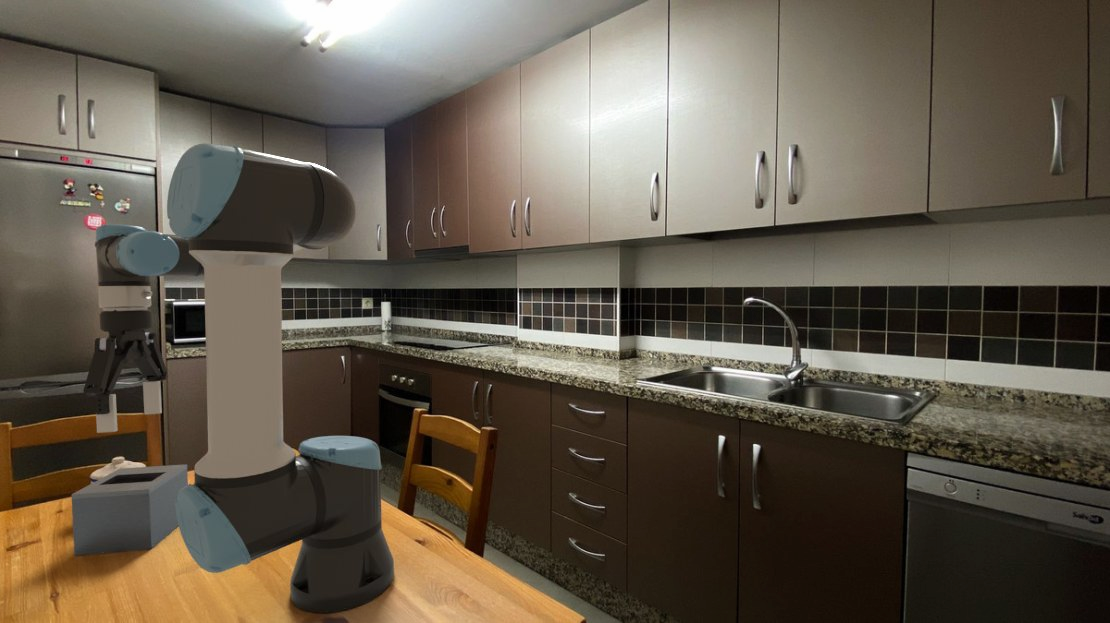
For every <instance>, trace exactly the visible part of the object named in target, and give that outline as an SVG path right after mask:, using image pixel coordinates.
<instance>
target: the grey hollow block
mask: <svg viewBox="0 0 1110 623" xmlns="http://www.w3.org/2000/svg"><path fill="white" fill-rule="evenodd" d="M188 477H189V476H188V464H171V465H154V466H153V465H152V466H146V467H136V468H120V469H118V470H116V471H114V472H113V473H111V474H109V475H107V476H105V477H103V478H101V479H99V480H98V481H96V482H94V483H92V484H91V483H90V484H88V485H86V486H84V487H83V488H81V489H79V490H77V491H75V492H73V493H72V494H71V512H72V515H71V516H72V531H73V532H72V534H73V535H72V536H73V551H74V553H73V554H74V557H77V556H88V555H98V554H99V555H100V554H110V553H121V552H123V553H124V552H134V551H145V550H152V549H154V548H155V547H156V546H157V545H159V543H160V542H162V541H163V540H164V539H165V538H166V537H168V536H169V535H170V534H171V533H172V532H173V531H175V530H176V529H177V528H179V525H178V521H177V516H176V509H175V501H176V498H177V493H178V491H179V490H180V489H182V488H184V487H185V486H186V485H188V484H189V479H188Z"/></svg>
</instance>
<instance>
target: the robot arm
mask: <svg viewBox="0 0 1110 623" xmlns="http://www.w3.org/2000/svg"><path fill="white" fill-rule="evenodd" d="M356 210H357V209H356V203H355V199H354V196H353V194H352V192H351V191H350V189H349V188H348V185H347V184H346V183H345V182H344V180H342V178H340V177H339V176H338V175H337V174H335V173H334V172H333V171H332V170H329V169H327V168H325V167H323V166H321V165H318V164H316V163H312V162H307V161H300V160H296V159H292V158H286V157H282V156H278V155H273V154H269V153H265V152H259V151H256V150H252V149H251V150H250V149H248V148H247V149H246V148H243V147H242V148H241V147H239V146H234V145H233V146H229V145H220V144H212V143H205V142H204V143H203V142H202V143H198V144H195V145H193V146H190V147H189V148H188V149H187V150H185V152H184V153H183V154H182V156H180V158H179V160H178V162H177V165H176V166H175V168H174V170H173V172H172V176H171V179H170V183H169V187H168V192H167V200H166V215H167V219H168V220H169V222H168V224H169V227H170V230H171V232H172V233H173V234H169V233H167V234H166V233H162V232H159V231H154V230H147V229H146V228H144V227H142V226H140V225H139V226H137V225H129V224H102V225H99V226H98V227H97V228H96V229H95V241H94V247H95V252H96V254H95V255H96V268H97V270H96V271H97V282H98V283H97V285H98V287H97V290H98V291H97V292H98V307H99V308H100V309H103V311H102V310H101V311H100V313H99V327H100V328H99V329H100V331H102V332H105V333H108V337H98V338H95V339H94V352H93V356H92V358H91V361H90V362H91V363H90V367H89V369H88V372H87V376H86V379H85V380H86V381H85V383H84V387H83V394H84V395H86V396H87V397H94V405H95V406H94V407H95V418H96V419H95V421H96V433H97V434H98V433H115V432H117V431H119V429H118V414H117V413H118V412H117V410H118V409H117V395H116V393H113V391H114V389H115V387H116V383H117V382H118V380H119V378H120V376H121V373H122V370H123V369H124V367H125V364H127V363H129V361H130V360H132V361H133V362H134V364H135V365H136V367H137V368H138V370H139V371H140V373H141V374H142V376H143V377H144V379H145V380H146V381H143V382H142V392H143V407H144V408H143V409H144V410H143V412H144V415H160V414H162V413H163V411H162V410H163V408H162V391H161V390H162V388H161V387H162V386H161V381H166V380H167V377H168V376H167V375H168V371H167V370H168V369H167V367H166V365H165V362H164V358H163V355H162V353H161V351H160V347H159V344H158V340H157V338H158V337H157V334H156V332H153V331H152V332H146V331H148V330H151V329H152V328H153V327H154V324H153V323H154V322H153V311H152V310H151V309H148V308H150V307H151V306H152V296H153V291H151V289H152V288H151V287H152V286H151V277H204V280H203V282H204V315H205V316H204V317H205V319H204V320H205V321H204V322H205V326H204V327H205V328H204V329H205V357H206V358H205V361H206V362H205V363H206V404H207V405H206V408H207V411H206V412H207V449H208V450H207V452H206V454H205V455H203V456H202V458H200V460H198V461H197V462H196V463H195V465H194V483H193V484H192V483H190V484H189V483H188V485H186V486H185V487H184V488H182V489H180V490H179V491H178V493H177V498H176V501H175V509H176V516H177V521H178V525H179V526H178V528H179V531H180V535H181V537H182V539H183V542H184V545H185V547H186V549H187V551H188V553H189V554H190V557H192V559H193V561H194V562H195V563H196V564H197V565H198V566H199V567H200V568H201V569H203V570H204V571H206V572H207V573H212V574H218V573H219V574H220V573H222V572H225V571H228V570H230V569H235V567H239V566H241V565H243V566H247V565H248V564H250V563H251V562H252V561H254V560H255V561H256V560H257V559H260V558H262V557H264V556H266V555H269V554H271V553H273V552H275V551H279V550H281V549H283V548H286V547H287V546H290V545H292V544H295V543H297V542H299V541H301V546H300V548H299V553H298V554H297V558H296V561H295V564H294V568H293V570H292V571H293V572H292V574H291V578H290V585H289V586H290V589H289V590H290V601H291V602H292V604H293V605H294V606H295V607H297V608H299V609H300V610H303V611H305V612H311V613H321V614H322V613H324V614H325V613H334V612H335V613H336V612H341V611H346V610H349V609H353V608H357V607H359V606H362V605H363V604H367V603H368V602H370V601H372V600H374V599H376V598H377V597H378V596H380V595H381V594H383V593H384V592H385V591H386V590H387V589H388V588H389V587H390V585H391V583H392V582H393V580H394V576H395V564H394V557H393V555H392V552H391V549H390V547H389V544H388V542H387V539H386V537H385V534H384V531H383V528H382V527H383V525H382V486H381V485H382V484H381V483H382V481H381V480H382V478H381V477H382V476H381V475H382V474H381V470H382V468H383V466H382V462H381V454H380V452H381V451H380V448H379V445H378V444H377V443H376V442H375V441H373V440H371V439H369V438H365V437H361V436H351V435H327V436H326V435H325V436H317V437H312V438H309V439H305V440H302V442H300V444H299V447H298V449H297V452H298V455H296V451H295V449H294V448H292V447H291V446H290V445H289V444H287V443H285V441H284V401H283V399H284V397H283V394H284V393H283V391H284V390H283V327H282V323H283V322H282V316H283V315H282V268H283V267H284V266H286V264H287V263H288V262H289V261H291V260H292V259H293V258H294V253H295V252H298V251H300V250H303V249H304V250H310V251H318V250H322V249H325V248H327V247H330V246H332V245H335V244H337V243H339V242H340V241H342V240H343V239H344V238H345V237H347V235H348V234H349V233H350V232H351V230H352V229H353V226H354V225H355V220H356V215H357V214H356Z"/></svg>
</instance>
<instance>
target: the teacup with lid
mask: <svg viewBox="0 0 1110 623" xmlns="http://www.w3.org/2000/svg"><path fill="white" fill-rule="evenodd" d="M136 467H147V465H146V464H144V463H142V462H134V461H130V460H125V457H124V456H116V457H114V458H112V459H111V463H108V464H106V465H105V466H103V467H102V468H98V469H96V470H95V471H93V472H92V473H91V474H90V475H89V481H90V484H92V483H94V482H96V481H98V480H99V479H101V478H103V477H105V476H107V475H109V474H111V473H113V472H114V471H116V470H118V469H120V468H136Z"/></svg>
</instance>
